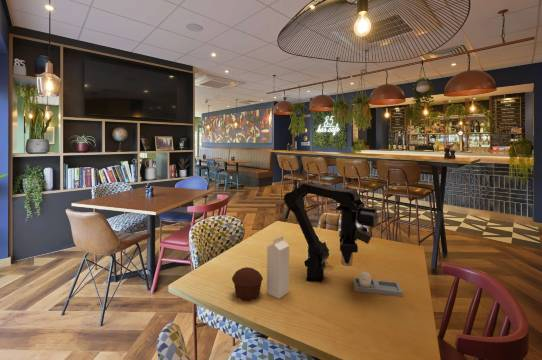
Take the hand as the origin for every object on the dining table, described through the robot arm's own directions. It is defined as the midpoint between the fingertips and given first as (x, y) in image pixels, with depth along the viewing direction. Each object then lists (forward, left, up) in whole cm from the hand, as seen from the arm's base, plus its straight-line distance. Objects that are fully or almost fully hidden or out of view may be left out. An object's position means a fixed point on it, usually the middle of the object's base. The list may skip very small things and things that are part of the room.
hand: (346, 260), depth 114 cm
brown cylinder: (0, 0, -1) cm, 1 cm away
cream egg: (+7, +2, -11) cm, 14 cm away
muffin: (-37, -13, -12) cm, 41 cm away
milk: (-26, -9, -12) cm, 30 cm away
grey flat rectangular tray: (+12, +2, -12) cm, 17 cm away
